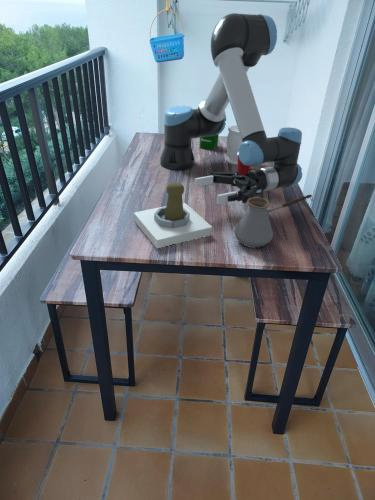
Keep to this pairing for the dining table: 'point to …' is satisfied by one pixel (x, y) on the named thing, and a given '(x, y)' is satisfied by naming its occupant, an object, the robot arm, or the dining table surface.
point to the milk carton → (209, 142)
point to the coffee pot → (258, 222)
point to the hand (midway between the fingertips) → (205, 190)
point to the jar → (233, 144)
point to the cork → (174, 202)
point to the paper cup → (243, 167)
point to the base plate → (169, 233)
